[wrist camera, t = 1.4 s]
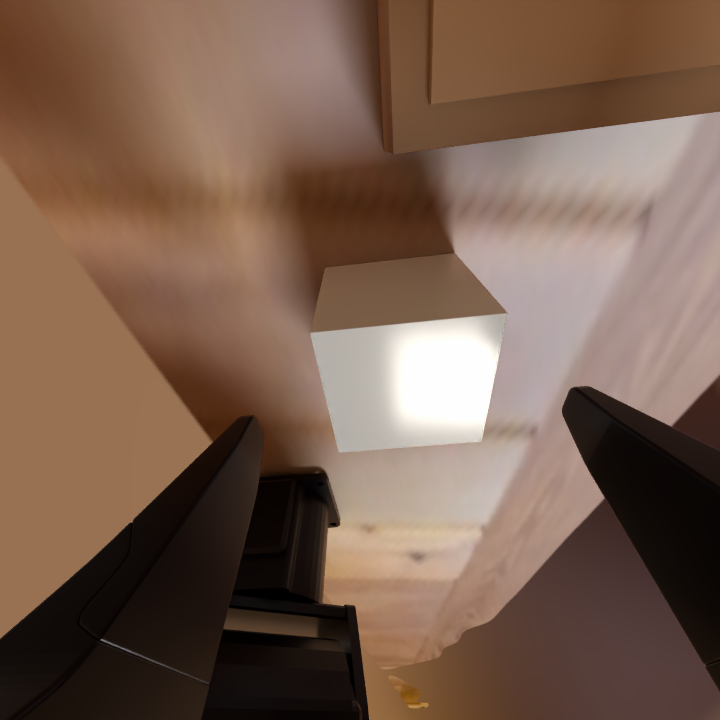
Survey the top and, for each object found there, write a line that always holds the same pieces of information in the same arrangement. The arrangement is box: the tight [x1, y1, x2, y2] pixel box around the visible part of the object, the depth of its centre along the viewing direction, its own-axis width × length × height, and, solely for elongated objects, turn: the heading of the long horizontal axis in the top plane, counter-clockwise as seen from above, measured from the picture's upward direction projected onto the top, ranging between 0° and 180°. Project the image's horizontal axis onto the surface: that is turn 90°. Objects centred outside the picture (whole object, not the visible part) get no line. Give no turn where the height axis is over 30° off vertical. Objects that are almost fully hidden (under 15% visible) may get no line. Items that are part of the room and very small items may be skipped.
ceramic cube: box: [310, 253, 508, 453], centre depth 11 cm, size 5×5×5 cm
